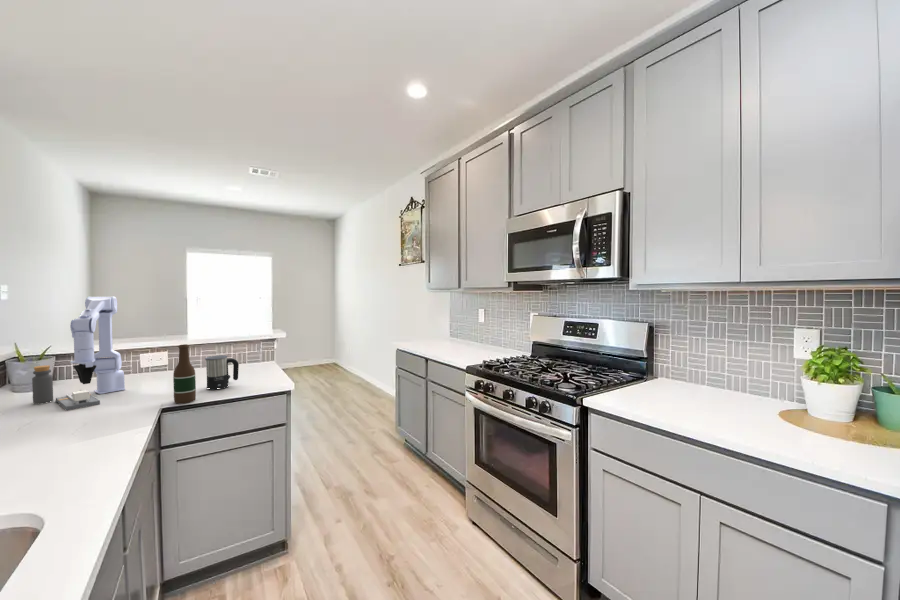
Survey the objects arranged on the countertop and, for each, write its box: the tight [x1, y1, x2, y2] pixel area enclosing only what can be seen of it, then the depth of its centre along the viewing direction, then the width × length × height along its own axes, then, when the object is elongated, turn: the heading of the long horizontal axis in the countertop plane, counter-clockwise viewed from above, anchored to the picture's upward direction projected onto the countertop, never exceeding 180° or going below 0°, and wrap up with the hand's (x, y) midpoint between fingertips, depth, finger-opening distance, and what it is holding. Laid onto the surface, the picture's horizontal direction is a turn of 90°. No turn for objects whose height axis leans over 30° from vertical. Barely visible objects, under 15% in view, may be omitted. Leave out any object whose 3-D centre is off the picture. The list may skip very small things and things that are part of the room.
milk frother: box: [204, 355, 240, 389], centre depth 191 cm, size 14×16×15 cm
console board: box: [55, 393, 101, 411], centre depth 163 cm, size 10×19×2 cm, turn 54°
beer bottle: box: [172, 344, 197, 405], centre depth 165 cm, size 8×8×24 cm
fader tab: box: [71, 389, 91, 402], centre depth 159 cm, size 4×4×4 cm
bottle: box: [31, 364, 54, 405], centre depth 163 cm, size 6×6×15 cm
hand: (85, 383), depth 154 cm, fingers open, 3 cm apart
